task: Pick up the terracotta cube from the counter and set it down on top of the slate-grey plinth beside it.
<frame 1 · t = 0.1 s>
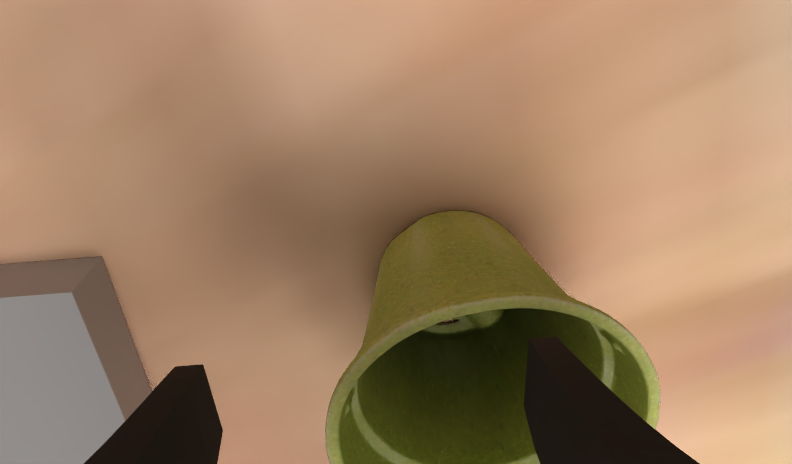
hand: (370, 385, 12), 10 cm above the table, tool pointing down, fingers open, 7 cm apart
plant pot: (449, 268, 23), on the table
slate plinth: (16, 373, 25), on the table
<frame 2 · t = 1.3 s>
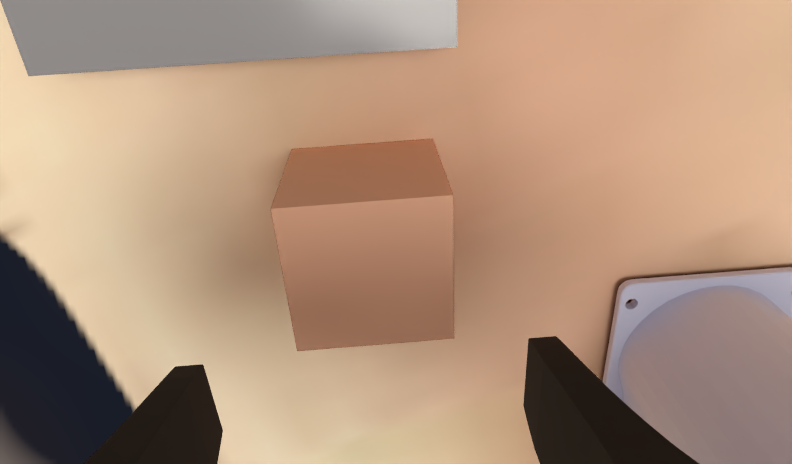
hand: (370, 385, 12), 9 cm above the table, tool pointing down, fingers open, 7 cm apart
terracotta cube: (368, 206, 20), on the table
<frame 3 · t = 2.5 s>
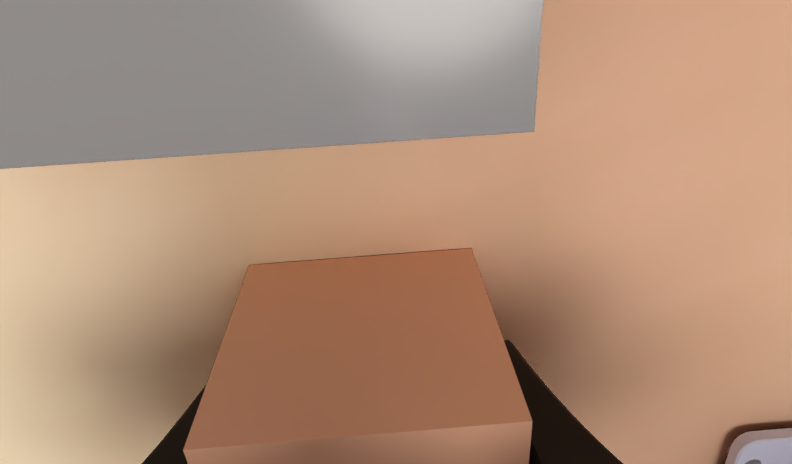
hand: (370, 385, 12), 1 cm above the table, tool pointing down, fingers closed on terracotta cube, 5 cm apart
terracotta cube: (369, 343, 13), on the table, touching gripper
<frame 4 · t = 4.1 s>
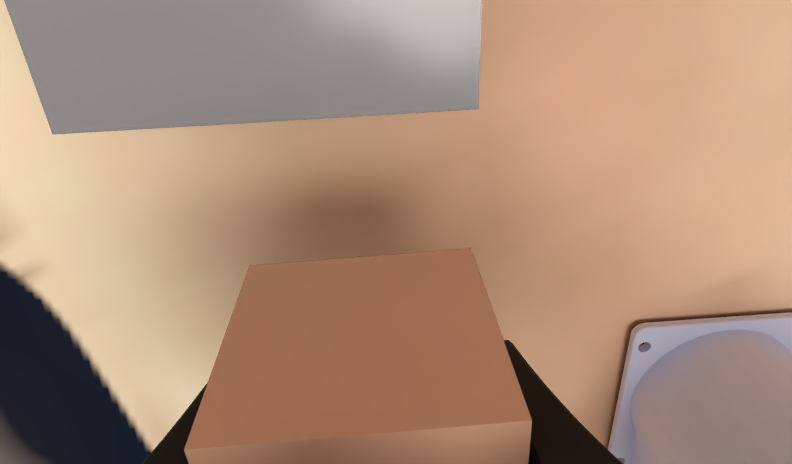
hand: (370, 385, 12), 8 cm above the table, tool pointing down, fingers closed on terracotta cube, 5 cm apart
terracotta cube: (369, 343, 13), point 7 cm above the table, touching gripper
when the fingers open (6 cm above the table, at t = 5.7 s): terracotta cube drops 2 cm, resting on slate plinth.
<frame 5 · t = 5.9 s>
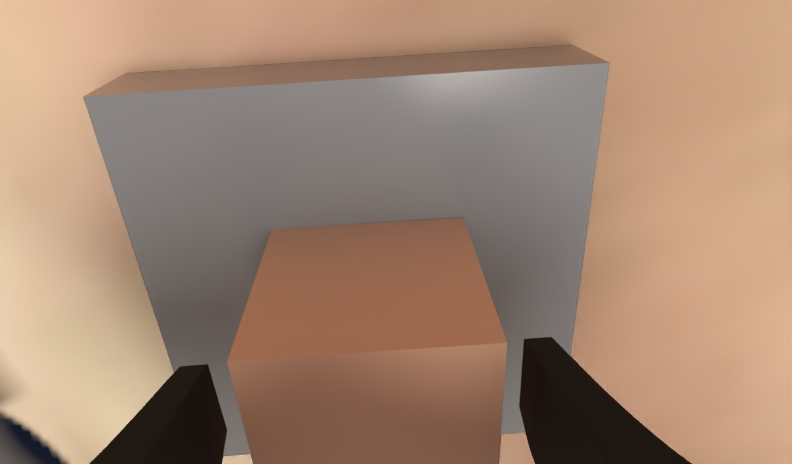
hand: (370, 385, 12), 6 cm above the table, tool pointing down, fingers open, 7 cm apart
terracotta cube: (374, 301, 15), point 2 cm above the table, touching slate plinth
slate plinth: (368, 243, 18), on the table, touching terracotta cube
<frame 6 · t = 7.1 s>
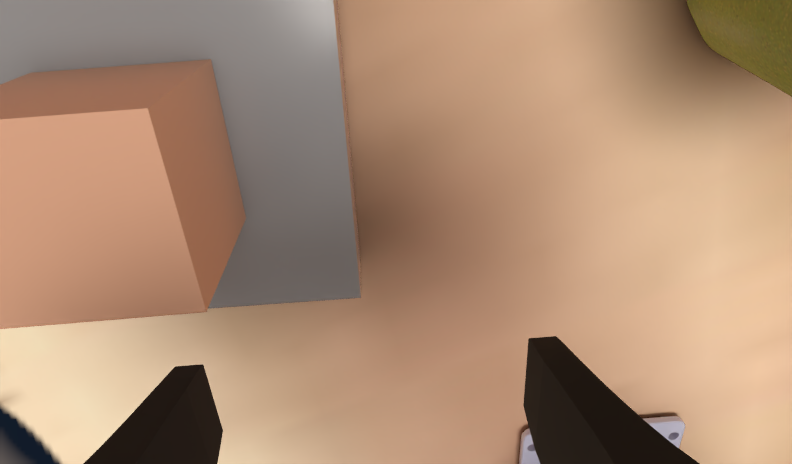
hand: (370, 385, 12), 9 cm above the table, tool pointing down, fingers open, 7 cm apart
terracotta cube: (146, 151, 16), point 2 cm above the table
slate plinth: (176, 119, 19), on the table
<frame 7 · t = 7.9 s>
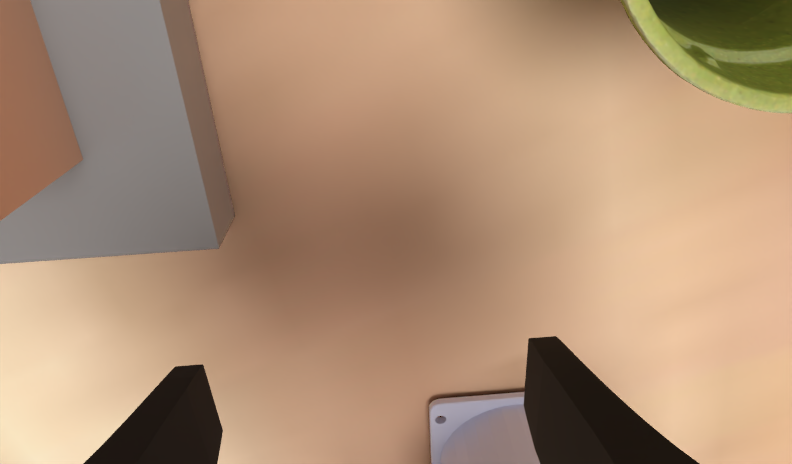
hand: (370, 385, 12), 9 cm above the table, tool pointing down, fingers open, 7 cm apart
slate plinth: (21, 59, 18), on the table, touching terracotta cube
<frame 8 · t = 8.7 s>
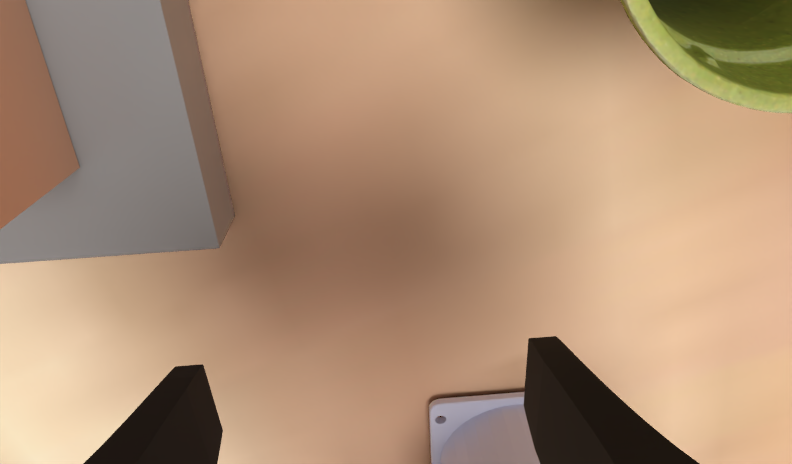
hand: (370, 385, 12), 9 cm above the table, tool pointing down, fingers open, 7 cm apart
slate plinth: (21, 59, 18), on the table
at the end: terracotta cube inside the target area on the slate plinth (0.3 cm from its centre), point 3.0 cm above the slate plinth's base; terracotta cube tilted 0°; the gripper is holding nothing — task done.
